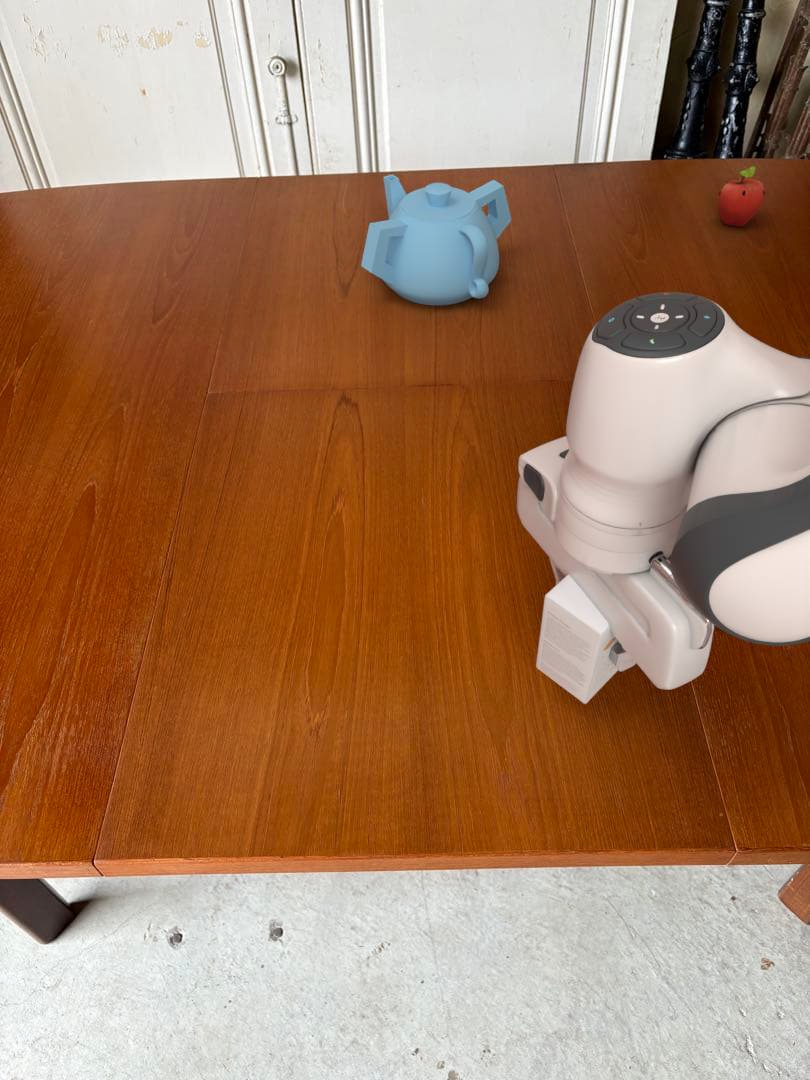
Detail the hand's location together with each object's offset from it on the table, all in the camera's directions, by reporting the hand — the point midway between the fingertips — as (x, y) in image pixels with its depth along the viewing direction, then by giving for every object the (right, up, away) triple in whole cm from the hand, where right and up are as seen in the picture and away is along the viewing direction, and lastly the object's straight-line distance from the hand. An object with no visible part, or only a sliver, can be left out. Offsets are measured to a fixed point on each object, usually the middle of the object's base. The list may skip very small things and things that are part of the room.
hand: (593, 627), depth 68 cm
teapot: (-11, +47, +54) cm, 72 cm away
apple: (+37, +58, +62) cm, 92 cm away
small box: (0, -3, +4) cm, 5 cm away
